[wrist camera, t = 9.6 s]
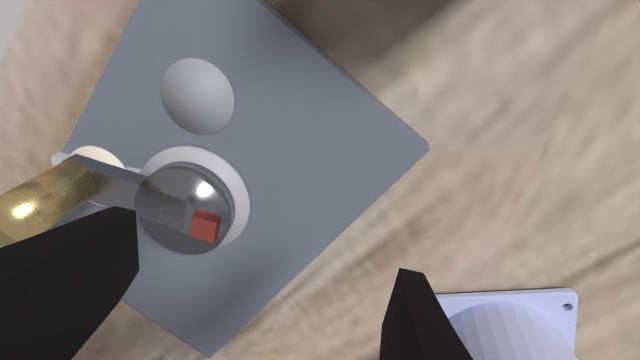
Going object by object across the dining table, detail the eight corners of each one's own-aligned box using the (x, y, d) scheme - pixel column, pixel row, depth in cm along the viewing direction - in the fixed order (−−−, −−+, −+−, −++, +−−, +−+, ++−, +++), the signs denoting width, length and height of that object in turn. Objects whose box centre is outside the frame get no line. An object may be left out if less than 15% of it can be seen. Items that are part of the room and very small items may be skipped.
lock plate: (427, 142, 19) (431, 154, 18) (214, 346, 28) (205, 366, 26) (183, -70, 17) (164, -75, 16) (31, 223, 25) (10, 237, 24)
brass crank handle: (243, 178, 20) (197, 238, 15) (227, 253, 22) (183, 327, 17) (69, 123, 20) (-30, 166, 15) (70, 203, 22) (-15, 263, 17)
